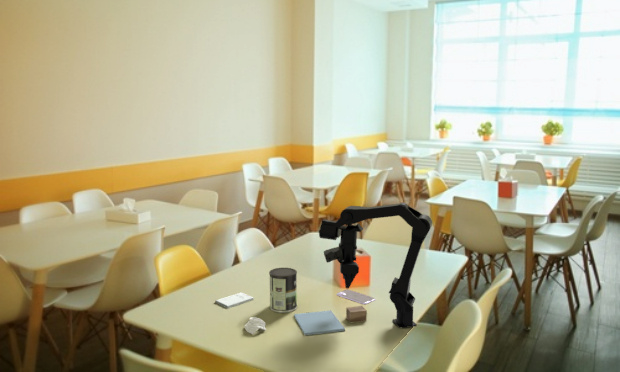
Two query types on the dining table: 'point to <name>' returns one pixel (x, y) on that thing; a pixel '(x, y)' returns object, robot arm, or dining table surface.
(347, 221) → the robot arm
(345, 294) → the mobile phone
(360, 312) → the walnut block
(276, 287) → the coffee can
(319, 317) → the mat
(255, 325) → the white crumpled lump
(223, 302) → the external hard drive
